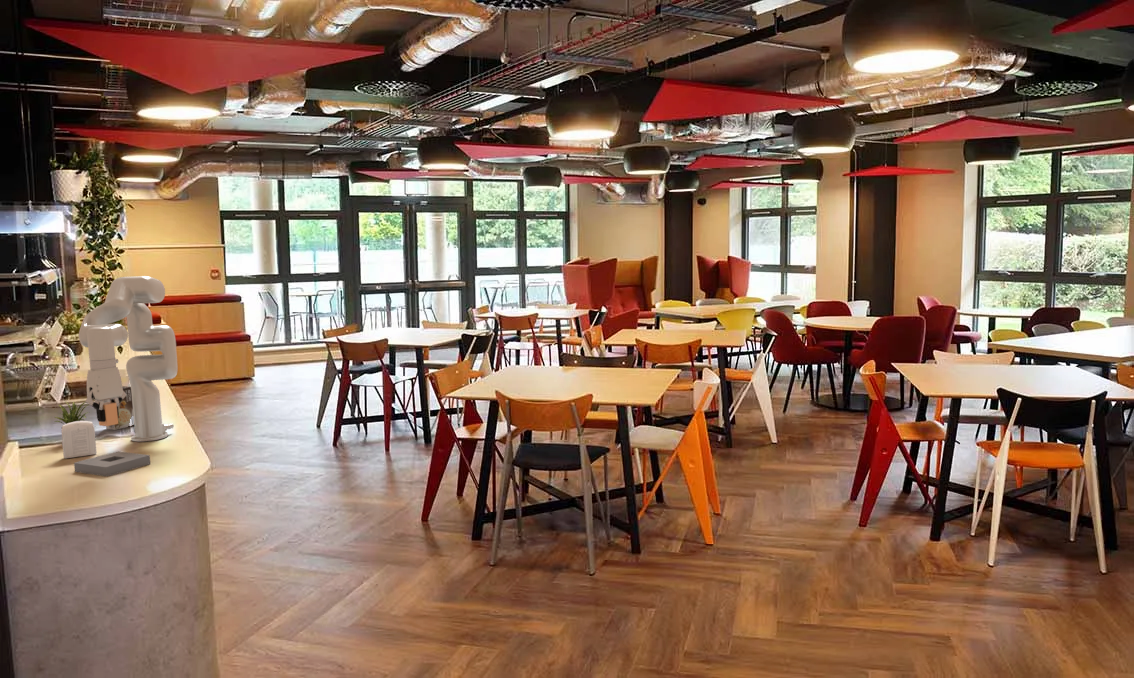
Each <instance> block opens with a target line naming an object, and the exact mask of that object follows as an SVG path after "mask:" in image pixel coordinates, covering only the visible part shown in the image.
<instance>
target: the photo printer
mask: <svg viewBox="0 0 1134 678" xmlns="http://www.w3.org/2000/svg"><path fill="white" fill-rule="evenodd" d="M61 428H62V429H61V432H60V433H61V441H62V452H63V458H64V459H69V458H70V459H71V458H79V457H87V456H94V455H97V453H98V452H97V444H96V430H95V426H94V423H93V421H90V420H89V421H88V420H80V421H75V422H71V423H67V424H66V423H65V424H63V425H62V427H61Z"/></svg>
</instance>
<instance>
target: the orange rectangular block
mask: <svg viewBox="0 0 1134 678" xmlns="http://www.w3.org/2000/svg"><path fill="white" fill-rule="evenodd" d="M103 409H104V410H105V418H106V421H105V422H100V421H98V425H99V426H100V427H101V426H103V427H106V426H110V425H115V424H118V415H117V405H116V403H113V402H107V403H103Z"/></svg>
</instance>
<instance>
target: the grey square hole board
mask: <svg viewBox="0 0 1134 678" xmlns="http://www.w3.org/2000/svg"><path fill="white" fill-rule="evenodd" d="M149 465H151V456H150V454H145V453H143V454H141V453H136V452H135V453H134V452H128V451H127V452H126V451H118V450H117V451H114V452H110V453H107V454H102V455H98V456H95V457H91V458H88V459H83V460H79V461H75V462H74V463H73V467H74V472H75V473H82V474H88V475H95V476H101V477H102V476H103V477H110V476H113V475H117V474H120V473H124V472H127V471H130V470H131V471H132V470H134V469H138V468H141V467H145V466H149Z"/></svg>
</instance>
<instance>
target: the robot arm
mask: <svg viewBox="0 0 1134 678" xmlns="http://www.w3.org/2000/svg"><path fill="white" fill-rule="evenodd" d="M165 296H166V288H165V285H164V284H163V282H162V281H161V280H160V279H157V278H155V277H153V276H152V277H151V276H147V275H138V276H135V275H134V276H121V277H117V278H115V279H114V280H112V282H111V284H110V286H109V289H108V292H107V295H106V298H105V300H104V302H103V303H102V304H100V305H98V306H97V307H95V308H94V309H92V310H91V311H89V312H88V313H87V314H86V315H85V316H84V317H83V320H82V322H81V324H80V328H79V332H78V339H79V343H80V345H81V346H82V347H85V348H87V349H88V351H87V352H88V357H89V358H88V359H89V369H88V370H87V376H86V399H85V401H84V402H86V403H85V404H87V405H89V406H91V407H92V408H93V409H94V410H95V411H96V419H97V422H99V421H100V422H105V421H106V418H105V410H104V409H103V401H104V400H106V399H110V402H113V403H116V405H117V415H118V418H119V411H118V406H119V405H120V402H121V401H122V399H123V398H124V397H125V396H126V393H125V392H124V391H123V388H122V386H123V382H122V378H121V377H122V376H121V373H120V370H119V368H118V367H117V364H119V359H117V358H116V351H115V347H120V346H122V345H124V344H125V343H126V342H127V341H128V345H129V347H130V350H132V352H133V351H134V352H137V353H139V352H140V353H141V352H144V353H145V352H160V353H161V354H144V355H135V356H131V357H130V358H129V359H128V360H127V361H126V365H125V369H126V374H127V377H128V381H129V385H130V386H129V387H131V393H132V404H133V414H134V425H135V426H134V433H135V434H134V435H132V436H131V437H130V440H131V441H132V442H151V441H153V442H154V441H158V440H162V439H165V438H167V437H168V433H169V432H167V430H170V429H174V423H168V424H165V423H163V416H162V407H161V406H162V405H161V395H160V394H161V393H160V389H159V388H158V386H157V385H156V384H155V383H154V382H153V381H163V380H172V379H174V378H176V376H177V374H178V372H179V371H178V367H179V366H178V354H177V341H176V335H175V331H174V329H173V328H172V327H171V326H170V325H164V324H163V325H154V323H153V314H152V311H151V310H150V309H149V307H148V306H147V305H146V304H157V303H161V302H162V301H163V300H164V299H165ZM125 318H126V324H127V325H126V326H127V328H126V327H125V326H124V325H122V324H120V323H115V322H118V321H120V320H123V319H125Z"/></svg>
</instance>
